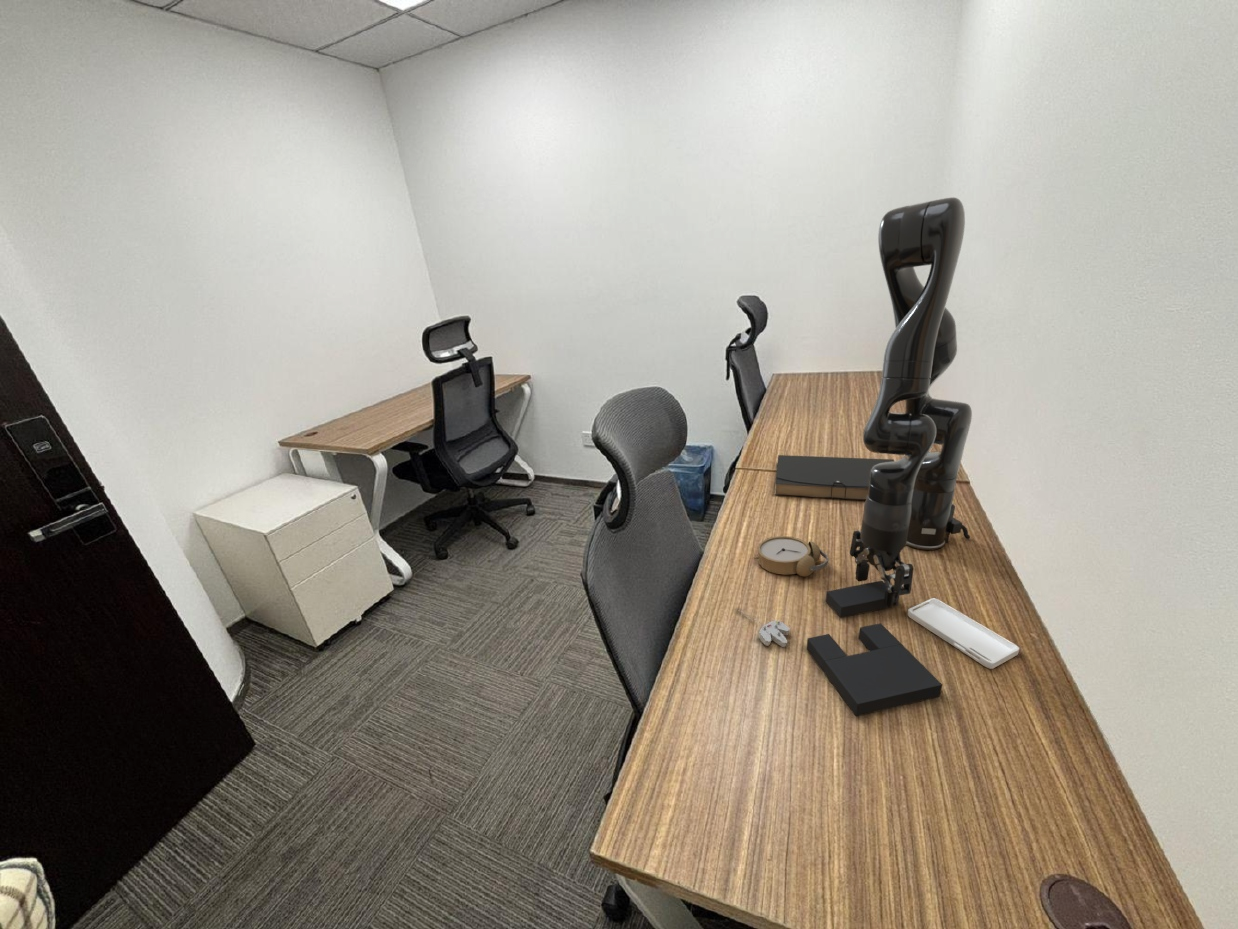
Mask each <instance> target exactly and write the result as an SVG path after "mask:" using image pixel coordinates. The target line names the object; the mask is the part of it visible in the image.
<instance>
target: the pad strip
mask: <svg viewBox="0 0 1238 929" xmlns="http://www.w3.org/2000/svg"><path fill="white" fill-rule="evenodd" d="M886 590H887V589H886V586H885V583H884V580H877V581H873V582H866V583H862V584H857V585H853V586H847V587H846V586H845V587H842V588H837V589H832V590H827V591H826V592H825V603H826V604H827V605H828V606H829V607H830V608H831V609H832V610H833V611H834V613H835V614H836V615H837V616H838V617H839V618H847V617H852V616H857V615H861V614H866V613H871V612H876V611H880V610H885V609H887V608H886V607H885V606H884V605H883V604H884V598H885V592H886ZM899 602H900V600H899V601H898V603H899ZM898 606H899V604H898V605H897V606H896V607H898Z"/></svg>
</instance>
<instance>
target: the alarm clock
mask: <svg viewBox="0 0 1238 929" xmlns="http://www.w3.org/2000/svg"><path fill="white" fill-rule="evenodd" d="M756 549H757V555H756V556H754V557H753V560H758V564H759V566H760V567H761V568H762V569H764V570H766V571H767V572H770V573H773V574H777V575H785V576H786V575H795V574H797V575H798V576H800V577H809V576H810V575H812V574H813V573H814V571H818V570H822V569H825V568H826V567H827V566H828V564H829V556H828V554H826V553H825V552H824V551H823V550H822V549H820V547H819V545H818V544H817V543H816V542H814V541H808V543H807V542H806V541H805V540H802V539H801V538H799V537H794V536H791V535H790V536H789V535H776V536H775V535H774V536H771V537H767V538H766V539H763V540H762V541H761V542H760V543H758V546H757V548H756ZM821 557H823V558H824V559H825V561H824V562H823V563H821V564H818V565H816V563H817V562H819V560H820V559H821Z"/></svg>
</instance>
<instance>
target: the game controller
mask: <svg viewBox="0 0 1238 929" xmlns="http://www.w3.org/2000/svg"><path fill="white" fill-rule="evenodd" d="M739 611H740V612H742V613H743V614H744V616H745V617H746V618H748V619H749V620H751V618H750V617H748V616H747V615H746V613H745V612H744V611H742V610H741V609H739ZM752 620H755V621H757V622H758V623H759V624H761V622H760V621H759V620H758V619H756V618H754V617H753V618H752ZM789 633H790V627H789V626H788V625H786V624H785V623H784V622H783V621H781V620H772V621H768V622H767V623H766V624H764V625H762V626H761V627H760V629H759V633H758V638H759V640H760V641H761V642H762V643H763V644H764V646H767V647H769V646H770V645H771V642H772V641H773V642H774V643H776V645H779V646H780V648H781V647H782V648H786V647H787V644H788V640H787V638H786V636H788V635H789Z"/></svg>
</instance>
